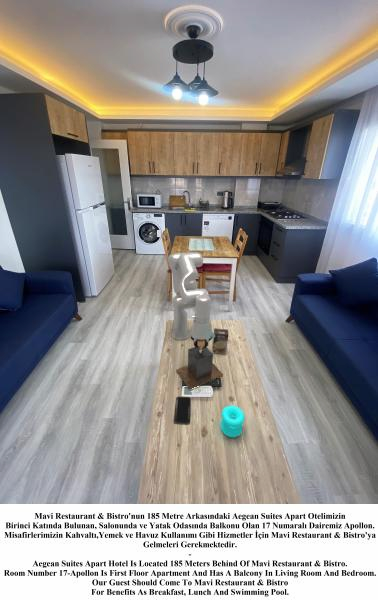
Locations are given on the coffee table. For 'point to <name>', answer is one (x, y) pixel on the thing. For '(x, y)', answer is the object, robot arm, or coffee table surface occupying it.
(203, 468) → the coffee table surface
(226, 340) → the coffee box
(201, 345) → the plunger
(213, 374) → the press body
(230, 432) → the donuts
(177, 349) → the coffee table surface
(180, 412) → the phone
